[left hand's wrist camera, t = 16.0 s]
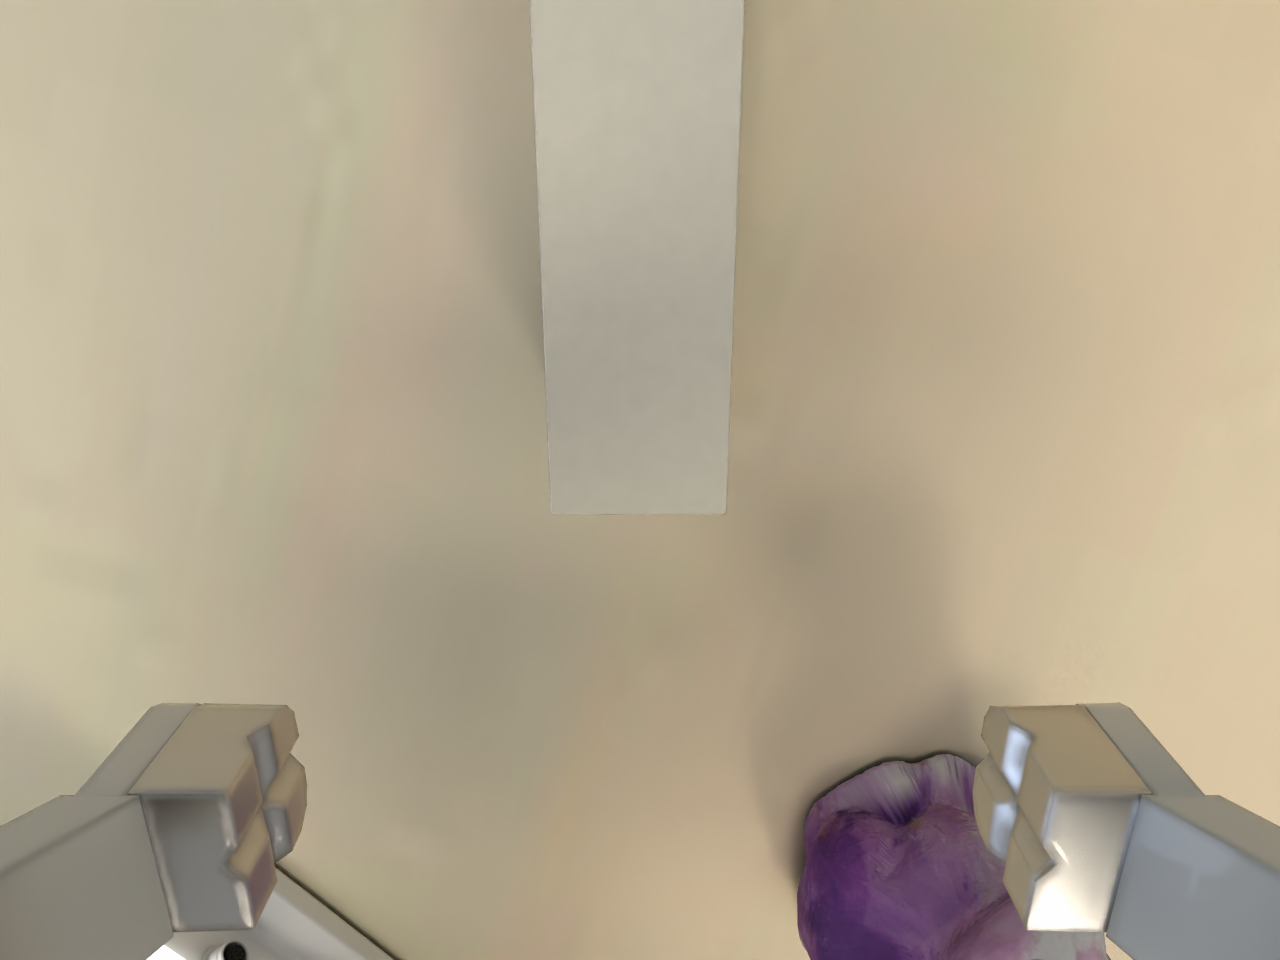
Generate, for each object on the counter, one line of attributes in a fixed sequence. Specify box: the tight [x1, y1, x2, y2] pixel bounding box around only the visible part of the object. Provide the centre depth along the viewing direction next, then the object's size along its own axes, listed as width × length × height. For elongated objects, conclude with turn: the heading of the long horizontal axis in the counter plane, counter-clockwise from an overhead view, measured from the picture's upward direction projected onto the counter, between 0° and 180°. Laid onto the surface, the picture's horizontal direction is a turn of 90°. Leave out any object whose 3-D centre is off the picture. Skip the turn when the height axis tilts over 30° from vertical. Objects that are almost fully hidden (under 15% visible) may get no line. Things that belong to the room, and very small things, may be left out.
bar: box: [529, 0, 745, 515], centre depth 24 cm, size 25×5×8 cm, turn 0°
